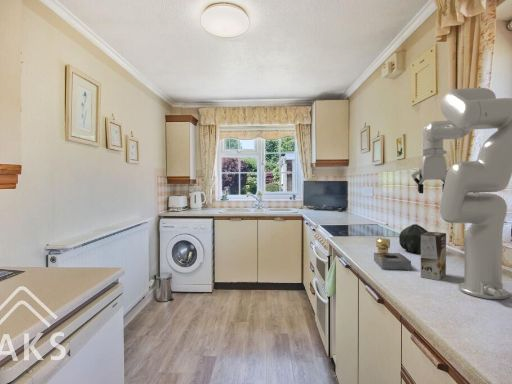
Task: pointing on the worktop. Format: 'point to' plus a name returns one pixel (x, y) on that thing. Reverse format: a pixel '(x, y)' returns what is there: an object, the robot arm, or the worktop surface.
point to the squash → (412, 238)
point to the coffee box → (433, 255)
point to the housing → (392, 261)
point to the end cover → (382, 245)
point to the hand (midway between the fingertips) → (433, 193)
